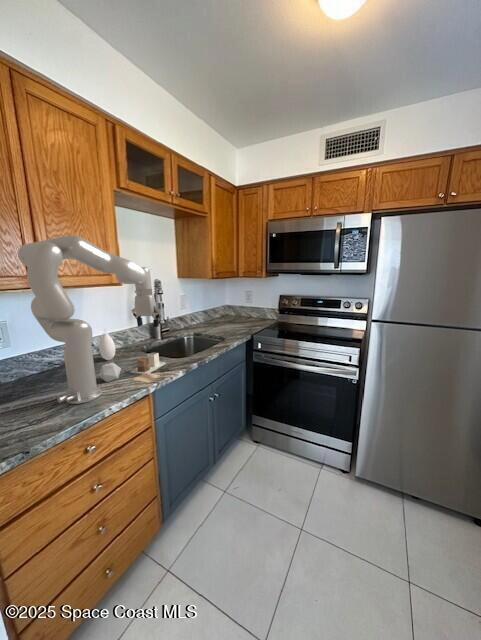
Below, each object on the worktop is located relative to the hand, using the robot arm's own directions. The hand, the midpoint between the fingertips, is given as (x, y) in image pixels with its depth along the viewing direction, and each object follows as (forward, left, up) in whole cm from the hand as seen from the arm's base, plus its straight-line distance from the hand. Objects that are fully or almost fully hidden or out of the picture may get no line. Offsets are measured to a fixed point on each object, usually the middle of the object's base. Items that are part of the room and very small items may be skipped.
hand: (148, 326), depth 134 cm
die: (-20, +7, -22) cm, 30 cm away
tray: (-3, -1, -21) cm, 22 cm away
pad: (-14, -8, -21) cm, 27 cm away
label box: (+1, -1, -21) cm, 21 cm away
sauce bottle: (+2, +30, -22) cm, 37 cm away
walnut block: (-7, -1, -21) cm, 22 cm away
